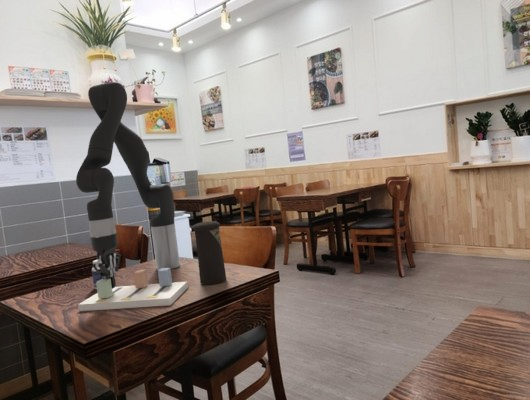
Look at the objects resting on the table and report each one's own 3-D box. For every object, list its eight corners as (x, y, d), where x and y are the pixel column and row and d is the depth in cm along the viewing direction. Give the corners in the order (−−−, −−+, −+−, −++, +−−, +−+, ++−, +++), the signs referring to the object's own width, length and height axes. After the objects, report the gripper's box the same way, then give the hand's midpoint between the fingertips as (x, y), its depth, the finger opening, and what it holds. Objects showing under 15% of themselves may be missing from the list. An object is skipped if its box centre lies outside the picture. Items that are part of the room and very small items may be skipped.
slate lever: (163, 283, 130) (161, 268, 129) (172, 282, 129) (170, 267, 129) (159, 286, 127) (157, 270, 126) (168, 285, 127) (166, 270, 126)
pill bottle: (105, 289, 140) (100, 261, 139) (91, 290, 141) (87, 262, 140) (113, 284, 145) (109, 257, 144) (100, 285, 146) (96, 258, 145)
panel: (106, 293, 134) (106, 287, 134) (188, 287, 131) (187, 281, 130) (79, 311, 119) (78, 304, 118) (170, 305, 115) (169, 297, 115)
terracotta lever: (139, 285, 131) (137, 270, 131) (148, 284, 131) (146, 269, 130) (135, 288, 128) (133, 272, 128) (144, 287, 128) (142, 272, 127)
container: (229, 281, 132) (222, 220, 130) (202, 287, 129) (195, 225, 127) (222, 275, 140) (215, 218, 138) (197, 281, 137) (189, 222, 135)
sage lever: (103, 295, 124) (101, 279, 124) (112, 294, 124) (110, 278, 123) (98, 298, 121) (96, 282, 121) (107, 297, 121) (105, 281, 120)
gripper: (103, 230, 132) (111, 282, 133) (79, 238, 119) (88, 296, 120) (124, 228, 131) (132, 280, 132) (103, 236, 118) (112, 294, 119)
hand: (111, 288), depth 126 cm, fingers closed
